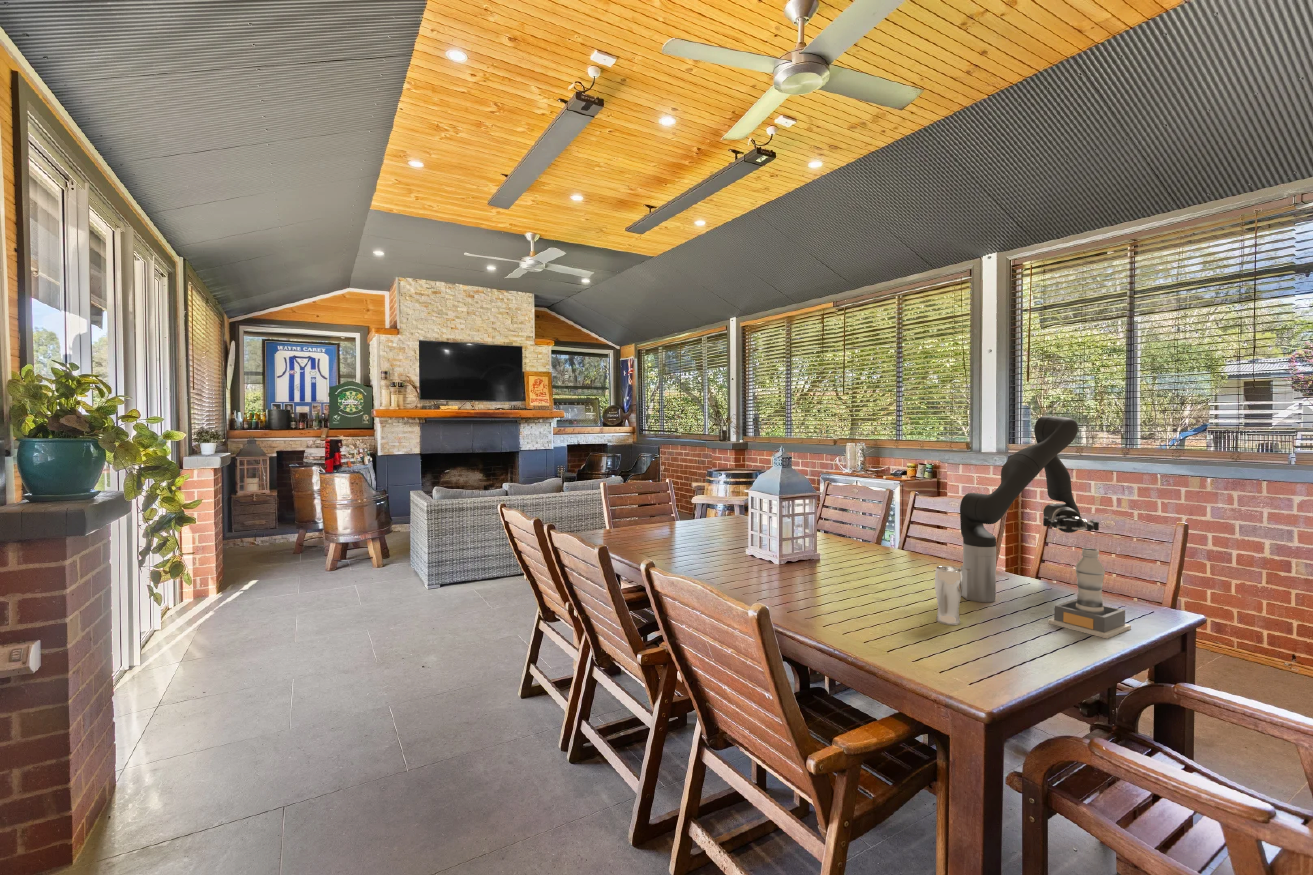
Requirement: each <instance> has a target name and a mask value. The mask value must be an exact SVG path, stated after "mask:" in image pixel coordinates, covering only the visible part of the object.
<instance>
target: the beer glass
mask: <svg viewBox="0 0 1313 875" xmlns="http://www.w3.org/2000/svg"><path fill="white" fill-rule="evenodd" d="M934 572H935V575H934V591H935V597H936V601H937V614H936V618H935V620H936V622H937V623H939V624H941V625H946V626H958V625H960V624H961V618H960V604H961V600H962V596H961V595H962V585H963V583H962V569H961V567H956V566H953V565H952V566H950V565H938V566H935V571H934Z"/></svg>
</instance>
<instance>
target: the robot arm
mask: <svg viewBox="0 0 1313 875" xmlns="http://www.w3.org/2000/svg"><path fill="white" fill-rule="evenodd" d="M1033 431H1034V438H1035V441H1036V443H1035V444H1032V445H1029V446H1028V447H1025V448H1021V449H1020V450H1018V451H1017V452H1015V453H1013V454H1012V455H1011V456H1010V458H1008V460H1006V462H1005V463H1004V464H1003V466H1001V470H1000V485H999V486H998V487H997V488H996V489H995V490H994V491H993V492H991V493H989V494H986V493H985V494H984V493H978V492H968V493H966V494H964V495H963V497H962V499H961V501H960V505H959V519H960V522H959V523H960V533H961V537H962V542H963V544H962V565H960V569H962V583H963V585H962V595H961V598H962V597H963V599H964V600H966V601H972V602H978V603H979V602H980V603H993V602H995V601H996V600H997V599H996V598H997V597H996V595H997V594H996V592H997V589H996V588H997V584H996V583H997V538H996V536H995V535H994V534H992V533H990V532H989V531H988V530H987V529H986V527H985V525H994V524H996V523H998V522H999V521H1000V520H1001V519H1002V518H1003V516H1004V515H1005V514H1006V512H1007V511H1008V510H1009V508H1010V507H1011V506H1012V504H1013V503H1014V502H1015V500H1016V499H1017V498H1018V496H1019V495H1020V494H1021V493H1022V492H1023V491H1024V489H1025V488H1026V487H1027V486H1028V485H1029V484H1030V483H1031V482H1032V481H1033V480H1034V479H1035V478H1036V477H1037V476H1038V475H1039V474H1040V472H1041V471H1042V470H1043V469H1044V473H1045V479H1046V482H1045V483H1046V490H1047V496H1048V498H1049V499H1050V500H1053V501H1057V502H1061V503H1049V504H1047V505H1045V506H1044V508H1043V513H1042V514H1043V519H1042V522H1043V523H1042V524H1043V525H1042V526H1043V527H1049V526H1050V528H1053V529H1058V530H1059V531H1061V532H1063V533H1066V534H1071V533H1072V534H1073V533H1075V532H1077V531H1079V530H1080V531H1087V532H1091V531H1096V532H1098V531H1100V526H1099V525H1100V522H1099V521H1097V520H1096V519H1090V520H1087V519H1086V518H1082V516H1081V512H1080V510H1079V507H1078V506H1077V504H1076V501H1075V499H1074V495H1073V490H1072V478H1071V475H1070V473H1069V471H1068V470H1069V469H1067V467H1066V466H1065V465H1064V463H1063V462H1062V461H1061V459H1060V457H1059V456H1058V455H1059V454H1060V453H1061V452H1063V450H1065V449H1066V448H1067V447H1068V446H1070V444H1072V442H1073V441H1074V440H1075V438H1076V437H1077V434H1078V432H1079V424H1078V423H1077V421H1076V420H1074V419H1073V418H1071V417H1064V416H1053V415H1043V416H1040V417H1038V419H1036V422H1035V424H1034V430H1033ZM1062 502H1063V503H1062Z"/></svg>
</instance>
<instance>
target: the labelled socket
mask: <svg viewBox="0 0 1313 875" xmlns="http://www.w3.org/2000/svg"><path fill="white" fill-rule="evenodd" d="M1076 603H1077V598H1075V599H1074V598H1073V599H1072V600H1069V601H1066V602H1062V603H1058V604H1055V605H1054V606H1053V607H1054V608H1053V610H1054V612H1053V614H1054V615H1053V617H1051V618H1050V619H1048V624H1050V625H1053V626H1058V627H1061V628H1066V629H1069V630H1073V631H1077V632H1081V633H1084V634H1089V635H1092V636H1095V637H1100V638H1102V639H1110V638H1112V637H1115V636H1117V635H1120V634H1122V633H1124V632H1126V631H1129V630H1131V629H1132V625H1131V624H1127V623H1126V609H1121V608H1117V607H1112V606H1109V605H1104V604H1103V608H1104V613H1105V615H1103V616H1100V615H1096V614H1092V613H1088V612H1083V611H1079V610H1075V606H1076ZM1119 633H1120V634H1119Z"/></svg>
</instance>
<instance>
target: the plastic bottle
mask: <svg viewBox="0 0 1313 875" xmlns="http://www.w3.org/2000/svg"><path fill="white" fill-rule="evenodd" d="M1081 556H1082V557H1081V559H1080V560H1078V561H1077V563H1076V564H1075V569H1074V570H1075V574H1076V579H1077V580H1076V581H1077V582H1076V583H1077V597H1076V599H1077V603H1076V606H1075V610H1079V611H1083V612H1088V613H1092V614H1096V615H1100V616H1103V615H1105V613H1104V608H1103V605H1104V603H1103V583H1104V579H1105V567H1104V565H1103V564H1102V562H1101V561H1100V560H1099V558H1100V550H1099V549H1097V548H1092V547H1091V548H1088V547H1086V548H1085V547H1084V548H1082V549H1081Z"/></svg>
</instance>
